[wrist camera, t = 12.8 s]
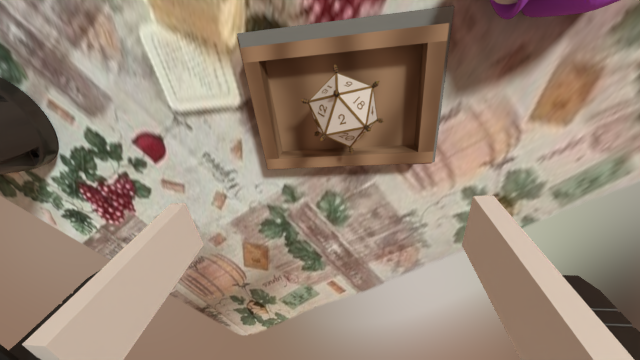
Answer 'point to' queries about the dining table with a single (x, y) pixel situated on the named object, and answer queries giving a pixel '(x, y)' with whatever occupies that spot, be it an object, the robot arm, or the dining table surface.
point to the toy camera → (546, 7)
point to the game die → (344, 109)
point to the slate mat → (356, 32)
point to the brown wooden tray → (361, 64)
